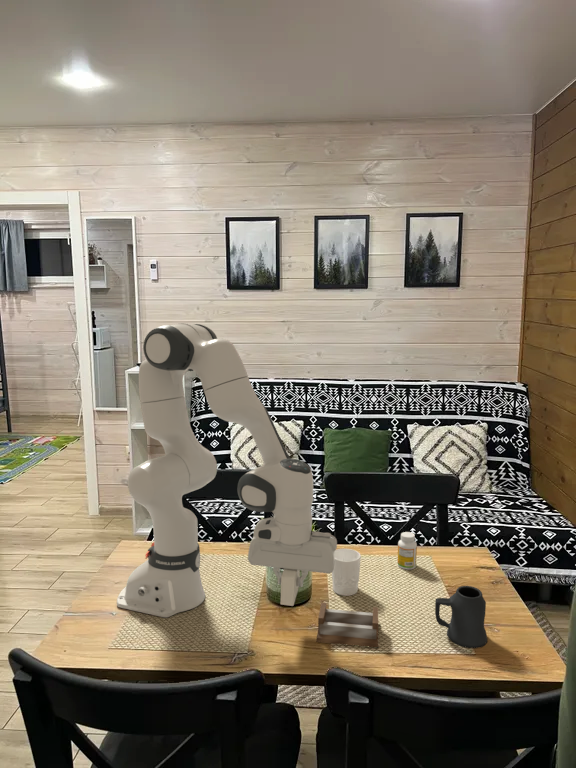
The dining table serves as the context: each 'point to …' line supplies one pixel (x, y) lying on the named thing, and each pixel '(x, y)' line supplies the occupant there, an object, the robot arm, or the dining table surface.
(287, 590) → the white block with hole
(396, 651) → the dining table surface
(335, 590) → the white cup
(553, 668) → the dining table surface
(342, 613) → the brown wooden rack
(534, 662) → the dining table surface
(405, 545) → the supplement bottle
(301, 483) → the robot arm
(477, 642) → the mug
